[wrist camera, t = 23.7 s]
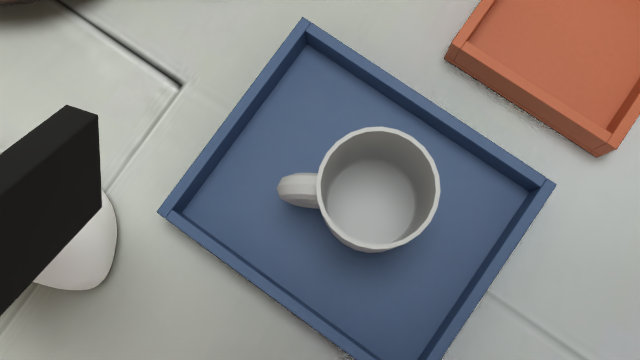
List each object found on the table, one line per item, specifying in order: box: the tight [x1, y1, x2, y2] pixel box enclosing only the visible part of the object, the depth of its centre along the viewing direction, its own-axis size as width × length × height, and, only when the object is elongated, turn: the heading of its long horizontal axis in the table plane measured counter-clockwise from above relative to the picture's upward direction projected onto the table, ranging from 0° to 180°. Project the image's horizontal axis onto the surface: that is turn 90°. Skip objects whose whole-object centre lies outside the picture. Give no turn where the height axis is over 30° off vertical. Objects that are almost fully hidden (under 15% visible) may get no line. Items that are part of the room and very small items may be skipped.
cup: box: [277, 127, 441, 253], centre depth 38 cm, size 7×10×9 cm
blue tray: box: [157, 17, 556, 360], centre depth 41 cm, size 22×18×3 cm
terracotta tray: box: [444, 0, 640, 157], centre depth 42 cm, size 14×14×3 cm
